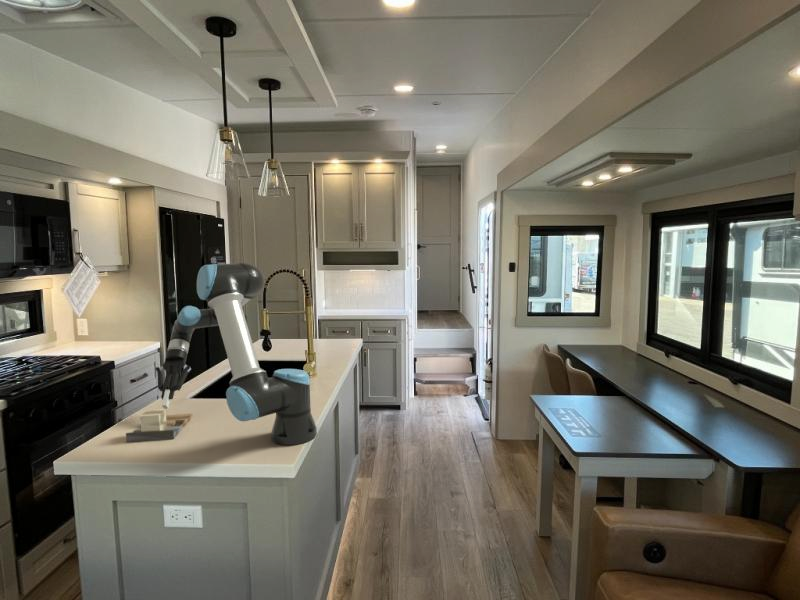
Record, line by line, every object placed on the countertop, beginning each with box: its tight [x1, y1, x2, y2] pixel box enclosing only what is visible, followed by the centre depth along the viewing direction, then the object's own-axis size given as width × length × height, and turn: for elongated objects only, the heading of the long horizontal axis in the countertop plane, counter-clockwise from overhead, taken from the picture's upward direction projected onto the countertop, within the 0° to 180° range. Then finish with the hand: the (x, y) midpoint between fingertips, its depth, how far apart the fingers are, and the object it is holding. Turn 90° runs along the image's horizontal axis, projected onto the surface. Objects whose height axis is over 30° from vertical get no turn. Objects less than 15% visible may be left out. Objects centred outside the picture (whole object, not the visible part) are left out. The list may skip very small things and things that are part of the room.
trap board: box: [125, 413, 194, 443], centre depth 161 cm, size 20×15×3 cm
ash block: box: [139, 408, 167, 432], centre depth 155 cm, size 6×6×7 cm
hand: (164, 406), depth 165 cm, fingers closed
